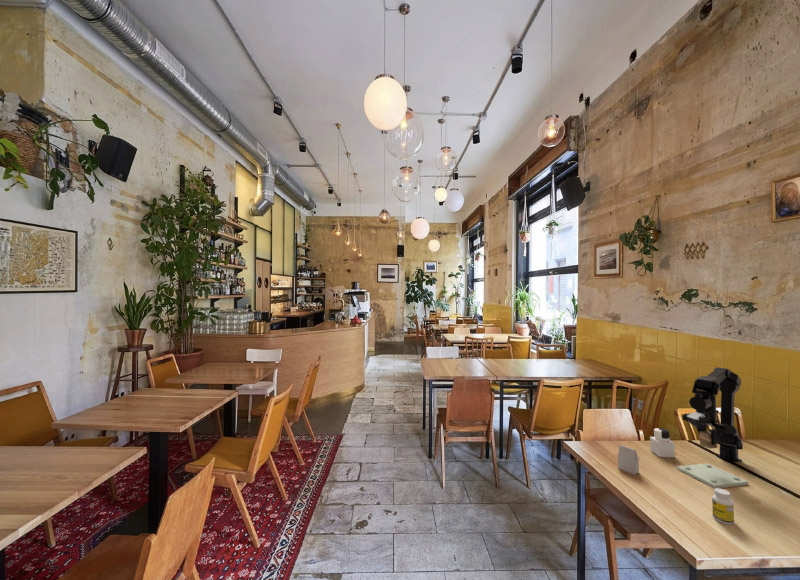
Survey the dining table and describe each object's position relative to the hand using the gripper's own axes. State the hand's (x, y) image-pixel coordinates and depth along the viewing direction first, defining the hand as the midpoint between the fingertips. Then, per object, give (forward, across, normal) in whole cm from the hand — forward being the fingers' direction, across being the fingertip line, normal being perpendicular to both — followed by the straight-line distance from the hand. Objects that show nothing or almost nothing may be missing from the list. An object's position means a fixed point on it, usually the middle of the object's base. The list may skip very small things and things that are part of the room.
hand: (708, 442), depth 152 cm
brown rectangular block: (+2, 0, 0) cm, 2 cm away
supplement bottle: (+14, +29, -29) cm, 43 cm away
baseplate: (+13, +3, -3) cm, 13 cm away
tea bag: (+14, -7, -33) cm, 37 cm away
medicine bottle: (+13, -19, -4) cm, 23 cm away
